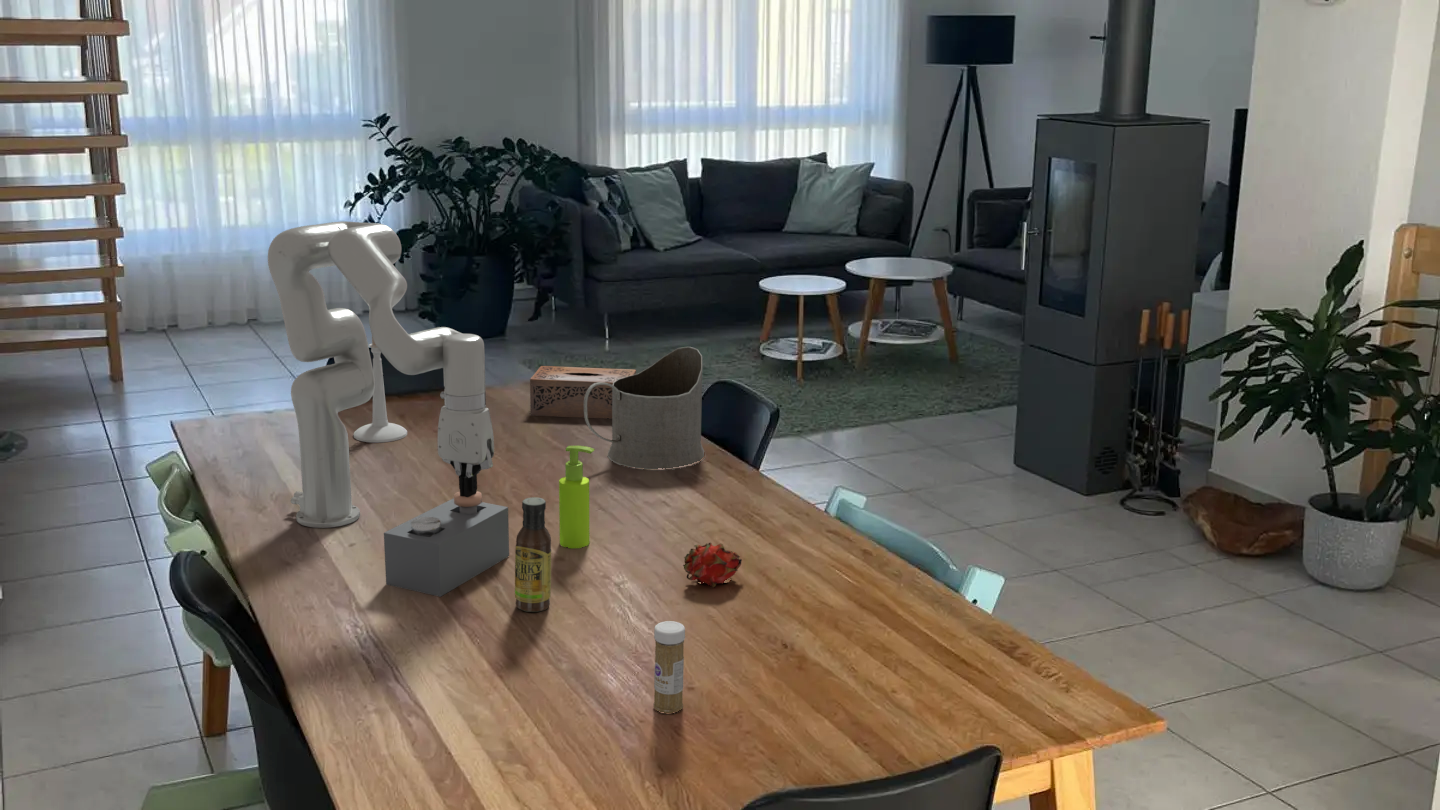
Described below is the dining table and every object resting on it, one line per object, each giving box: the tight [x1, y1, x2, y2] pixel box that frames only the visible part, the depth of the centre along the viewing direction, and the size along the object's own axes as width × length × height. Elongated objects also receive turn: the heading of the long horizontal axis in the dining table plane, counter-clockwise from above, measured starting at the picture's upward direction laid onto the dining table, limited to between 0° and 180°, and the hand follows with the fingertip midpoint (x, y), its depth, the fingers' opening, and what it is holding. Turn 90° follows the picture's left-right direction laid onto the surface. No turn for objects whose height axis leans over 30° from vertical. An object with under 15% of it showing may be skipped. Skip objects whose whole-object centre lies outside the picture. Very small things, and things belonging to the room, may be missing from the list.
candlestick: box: [353, 336, 408, 444], centre depth 335 cm, size 13×13×30 cm
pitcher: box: [584, 346, 705, 469], centre depth 323 cm, size 23×32×25 cm
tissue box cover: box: [529, 365, 637, 420], centre depth 364 cm, size 26×14×10 cm, turn 86°
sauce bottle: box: [514, 496, 552, 613], centre depth 240 cm, size 6×6×20 cm
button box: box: [383, 497, 510, 597], centre depth 256 cm, size 12×22×10 cm, turn 155°
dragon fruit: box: [682, 542, 743, 588], centre depth 254 cm, size 8×8×12 cm
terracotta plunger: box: [453, 490, 483, 515], centre depth 261 cm, size 5×5×8 cm
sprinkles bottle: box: [653, 620, 686, 713], centre depth 206 cm, size 5×5×13 cm
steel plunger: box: [411, 517, 441, 537], centre depth 250 cm, size 5×5×8 cm
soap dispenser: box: [558, 445, 595, 549], centre depth 269 cm, size 6×7×20 cm
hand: (468, 494), depth 260 cm, fingers closed
